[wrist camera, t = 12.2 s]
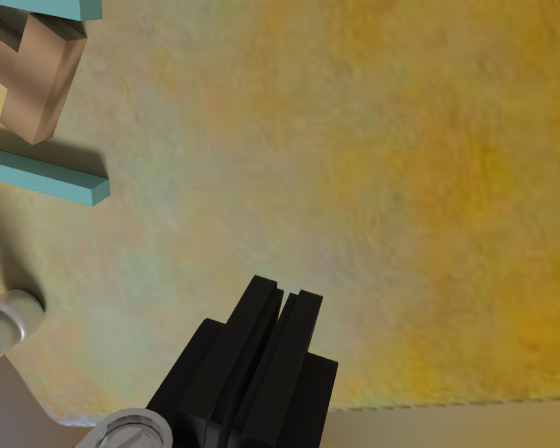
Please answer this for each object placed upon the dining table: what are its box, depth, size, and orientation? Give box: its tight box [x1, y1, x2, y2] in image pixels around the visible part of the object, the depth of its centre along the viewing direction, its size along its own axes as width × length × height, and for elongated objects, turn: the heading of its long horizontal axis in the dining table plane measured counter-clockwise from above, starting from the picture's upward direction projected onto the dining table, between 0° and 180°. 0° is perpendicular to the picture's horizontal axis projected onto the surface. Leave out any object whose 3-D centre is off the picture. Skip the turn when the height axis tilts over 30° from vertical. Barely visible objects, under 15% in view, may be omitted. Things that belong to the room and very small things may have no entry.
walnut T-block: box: [0, 13, 87, 145], centre depth 45 cm, size 12×12×3 cm
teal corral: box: [0, 0, 109, 207], centre depth 46 cm, size 20×20×3 cm
